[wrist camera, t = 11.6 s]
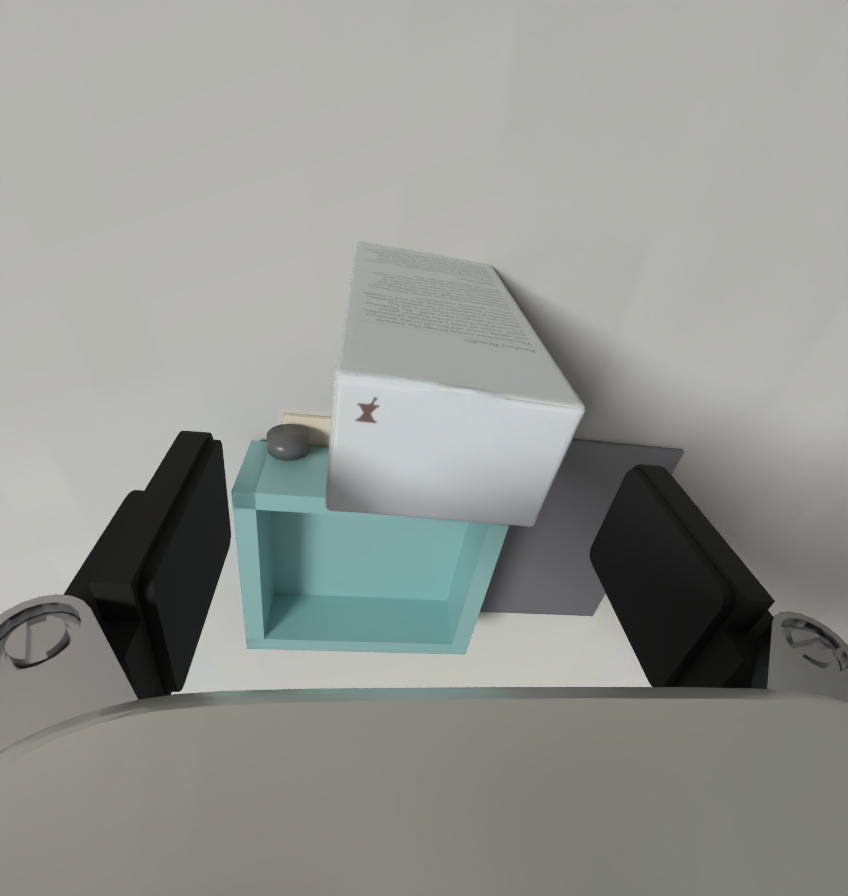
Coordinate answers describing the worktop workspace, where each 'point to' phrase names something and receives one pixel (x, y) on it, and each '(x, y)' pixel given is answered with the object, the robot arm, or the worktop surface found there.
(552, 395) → the skincare box
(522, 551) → the mat
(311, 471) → the teal open tray
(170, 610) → the robot arm
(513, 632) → the worktop surface
